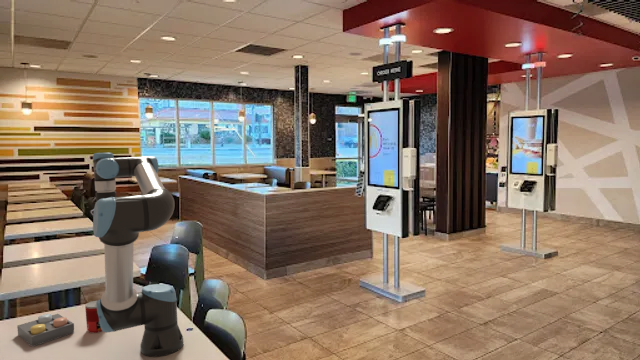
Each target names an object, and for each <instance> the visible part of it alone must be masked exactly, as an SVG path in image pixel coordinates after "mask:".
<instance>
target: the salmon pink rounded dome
mask: <svg viewBox="0 0 640 360" xmlns="http://www.w3.org/2000/svg"><path fill="white" fill-rule="evenodd" d="M67 320H68V318H67V317H66V316H65V317H64V316H62V317H61V318H57V319H55V320H53V325H54V327H55V328H57V327H61V326H64V325H67Z"/></svg>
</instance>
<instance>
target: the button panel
mask: <svg viewBox="0 0 640 360" xmlns="http://www.w3.org/2000/svg"><path fill="white" fill-rule="evenodd" d="M51 315H52V314H51ZM61 317H63V316H62V315H61V314H60V313H56V314H53V315H52V321H50V322H46V323H43V324H45V330H46V331H45V332H42V333H38V334H35V335H32V334H31V327H32V326H34V325H37V324H39V322H38V319H35V320H32V321H28V322H24V323H22V324H18V325H16V326H17V327H16V328H17V336H18V337H20V338H21V339H22V340H23V341H24V342H26V343H27V344H29V346H31V347H35V346H38V345H42V344H44V343H47V342H50V341H52V340H56V339H59V338H62V337H65V336H68V335H71V334H74V333H75V324H74V323H73V322H72V321H71V320H69V319H67V325H64V326H61V327H57V328H55V327H54V325H53V320H55V319H57V318H61Z"/></svg>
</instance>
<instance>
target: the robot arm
mask: <svg viewBox="0 0 640 360" xmlns="http://www.w3.org/2000/svg"><path fill="white" fill-rule="evenodd" d="M92 164H93V165H92V166H93V175H94V190H95V204H94V208H93V209H91V210H89V213H90V215H92V217H93V218H92V219H93V221H92V230H93V235H94V237H96V238H99V239H98V240H99V241H100V242H101V244H103V245H104V248H103V249H104V275H105V276H104V280H105V282H104V283H105V291H104V292H103V293H102V295H101V297H100V298H99V299H97V300H98V301H97V300H96V301H97V302H96V306H97V312H98V317H99V322H100V326H101V329H102V333H114V332H118V331H123V330H126V329H131V328H135V327H139V326H140V327H141V326H144V331H143V335H142V338H141V342H140V353H141V354H142V355H145V356H147V357H163V356H168V355H171V354H174V353H176V352H177V350H178V349H179V350H180V349H182V347H183V346H184V344H183V343H184V336H183V334H182V331H181V329H180V327H179V324H178V309H177V308H178V306H177V301H178V298H177V293H176V289H175V288H174V287H173V286H171V285H168V284H164V283H163V284H162V283H161V284H160V283H158V284H157V283H155V284H148V285H145V286H143V287H142V289H141V291H140V292H137V291H136V290H135V288H134V243H135V242H136V241H137V240H138V239H139V236H140V233H142V232H143V233H144V232H151V231H155V230H158V229H159V228H161V227H163V226H164V225H165V224H166V223H167V222H168V221H169V220H170V219H171V217H172V216H173V214H174V210H175V204H176V203H175V199H174V197H173V194H172V193H171V192H170V191H169V190H168V189H166V187H165V186H164V185H163V182H162V181H161V179H160V176H159V161H158V158H157V157H156V156H148V155H147V156H133V157H132V156H131V157H129V156H127V157H114V153H112V152H95V153H93V154H92ZM127 177H128V178H131V177H135V178H136V181H137V184H138V186H139V188H140V191H141V194H140V195H139V194H138V195H126V196H118V195H117V191H116V190H117V187H116V186H117V183H116V178H127ZM179 350H178V351H179ZM175 351H176V352H175ZM173 352H174V353H173Z"/></svg>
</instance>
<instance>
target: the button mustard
mask: <svg viewBox="0 0 640 360" xmlns="http://www.w3.org/2000/svg"><path fill="white" fill-rule="evenodd" d="M45 331H46V330H45V324H37V325H34V326H32V327H31V334H32V335H35V334H38V333H42V332H45Z"/></svg>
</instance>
